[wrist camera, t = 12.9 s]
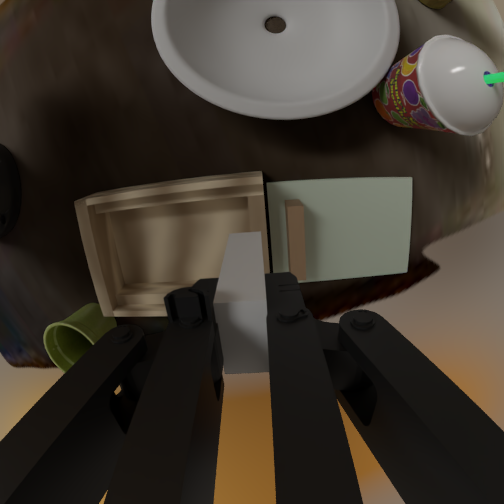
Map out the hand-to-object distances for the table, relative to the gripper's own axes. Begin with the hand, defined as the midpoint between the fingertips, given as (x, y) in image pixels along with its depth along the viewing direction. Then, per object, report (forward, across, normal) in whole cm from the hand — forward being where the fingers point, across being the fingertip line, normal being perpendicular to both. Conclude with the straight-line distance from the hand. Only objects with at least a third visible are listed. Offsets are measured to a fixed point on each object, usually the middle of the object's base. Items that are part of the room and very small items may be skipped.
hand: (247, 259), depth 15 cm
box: (+20, -8, -5) cm, 22 cm away
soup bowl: (+20, +4, +19) cm, 28 cm away
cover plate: (+20, +10, -5) cm, 23 cm away
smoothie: (+20, +17, +10) cm, 28 cm away
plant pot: (+21, -23, -16) cm, 35 cm away
